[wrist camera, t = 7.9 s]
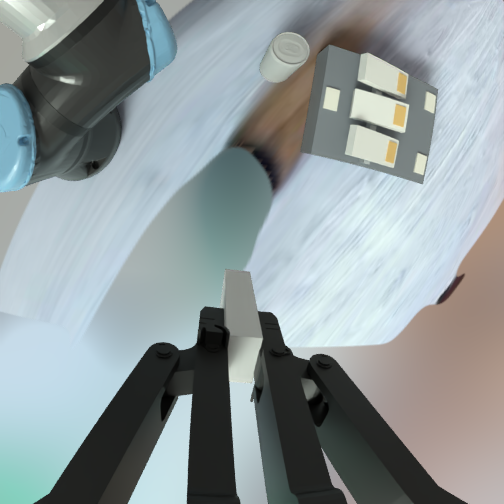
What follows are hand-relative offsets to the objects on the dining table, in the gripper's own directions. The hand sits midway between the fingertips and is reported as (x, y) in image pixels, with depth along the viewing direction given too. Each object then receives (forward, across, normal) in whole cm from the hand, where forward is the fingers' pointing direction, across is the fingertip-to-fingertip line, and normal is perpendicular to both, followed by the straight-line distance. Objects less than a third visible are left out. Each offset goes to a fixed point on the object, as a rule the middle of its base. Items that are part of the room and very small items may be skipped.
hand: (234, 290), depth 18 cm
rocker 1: (+22, +18, +23) cm, 36 cm away
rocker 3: (+22, +18, +12) cm, 31 cm away
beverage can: (+31, +4, +22) cm, 38 cm away
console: (+30, +20, +18) cm, 40 cm away
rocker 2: (+22, +18, +18) cm, 33 cm away
